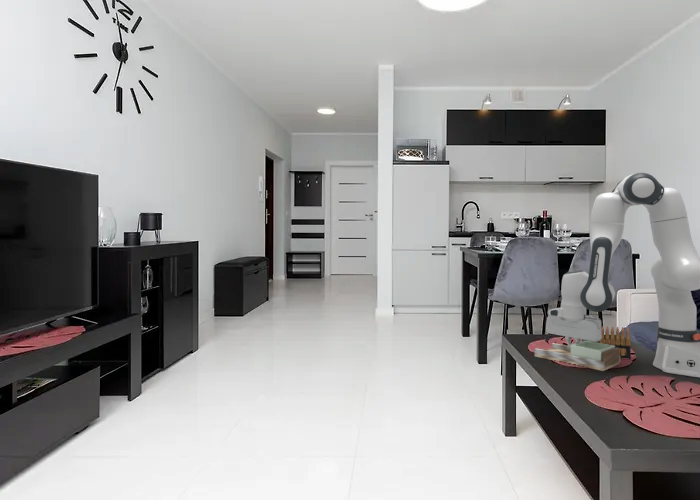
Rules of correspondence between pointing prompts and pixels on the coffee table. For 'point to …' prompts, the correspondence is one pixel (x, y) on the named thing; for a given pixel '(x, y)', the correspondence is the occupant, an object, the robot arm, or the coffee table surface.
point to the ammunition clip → (618, 341)
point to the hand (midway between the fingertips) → (572, 348)
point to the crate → (590, 350)
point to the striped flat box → (564, 355)
